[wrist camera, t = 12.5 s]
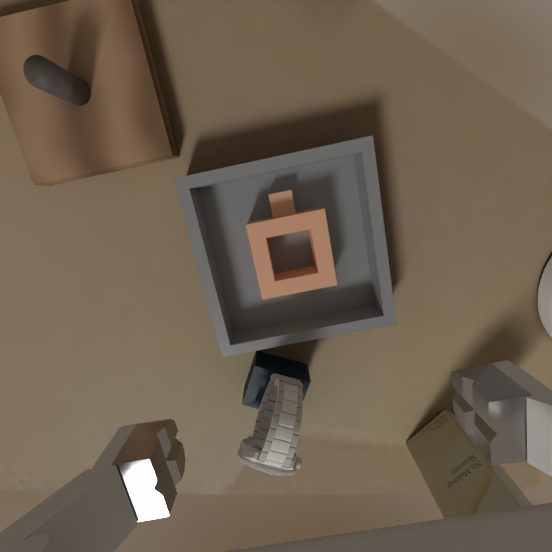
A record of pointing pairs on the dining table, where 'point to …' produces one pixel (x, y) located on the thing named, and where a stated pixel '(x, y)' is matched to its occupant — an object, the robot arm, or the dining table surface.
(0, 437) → the dining table surface
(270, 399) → the watch
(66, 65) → the base
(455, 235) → the dining table surface
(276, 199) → the ring
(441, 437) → the skincare box
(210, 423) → the dining table surface
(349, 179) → the tray
